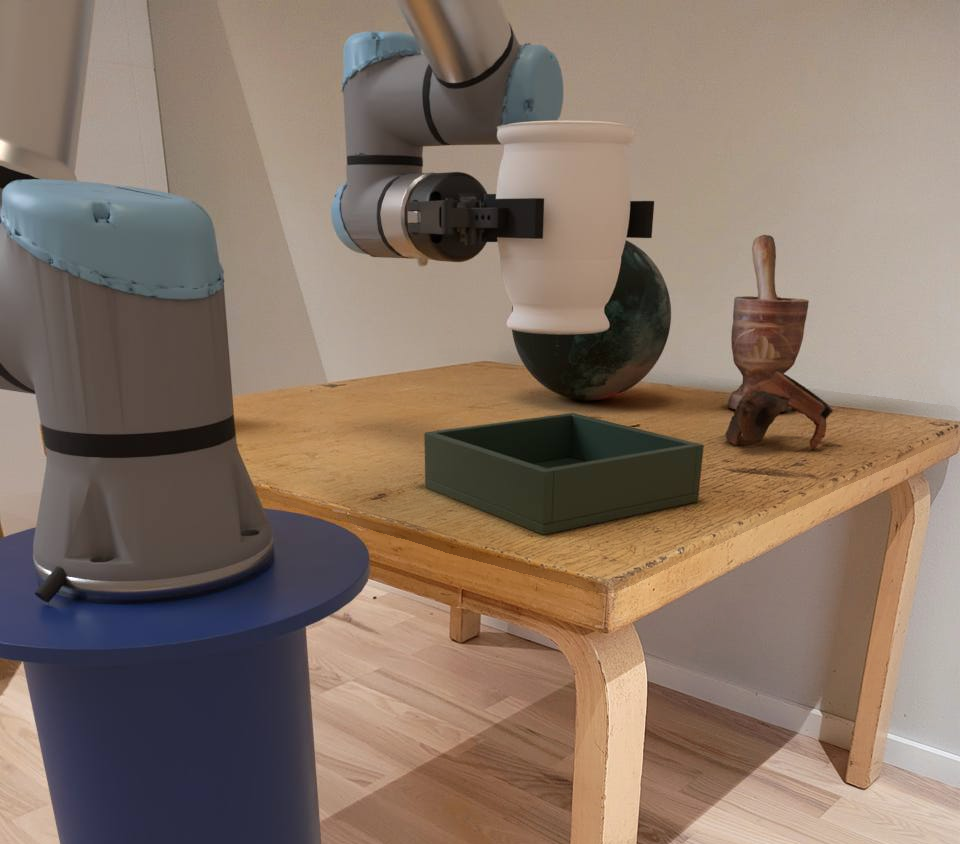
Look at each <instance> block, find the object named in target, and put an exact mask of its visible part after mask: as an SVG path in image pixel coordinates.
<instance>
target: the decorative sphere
mask: <svg viewBox="0 0 960 844" xmlns="http://www.w3.org/2000/svg"><path fill="white" fill-rule="evenodd" d="M512 312H513V305H512V306H511V313H512ZM604 313H605V315H606V317H607V319H608V321H609V324H610V326H609V328H608V329H607V330H605V331H603V332H598V333H590V334H538V333H527V332H520V331H515V330H512V329H511V333H512V338H513V343H514V347H515V349H516V352H517V354H518V357H519V359H520V360H521V362H522V364H523V366H524V367H525V368H526V370H527V372H529V374H530V375H531V376H532V377H533V378H534V379H535V380H536V381H537V382H538V383H539V384H540V385H542V386H543V387H545V388H546V389H548V390H549V391H551V392H553V393H554V394H556V395H559V396H562V397H564V398H568V399H572V400H576V401H577V400H578V401H590V402H591V401H600V400H605V399H610V398H613V397H616V396H618V395H620V394H623V393H625V392H627V391H628V390H630V389H631V388H633V387H635V386H636V385H637V384H638V383H640V382H641V381H643V379H645V377H647V375H648V374H649V373H651V371H652V369H653V368H654V367H655V365H656V364H657V363H658V361H659V359H660V357H661V356H662V354H663V352H664V350H665V347H666V345H667V341H668V339H669V334H670V329H671V322H672V304H671V297H670V293H669V288H668V287H667V283H666V281H665V279H664V277H663V274H662V273H661V271H660V269H659V268H658V266H657V264H656V263H655V261H654V260H653V259H652V258H651V257H650V256H649V255H648V254H647V253H646V252H645V251H644V250H642V249H641V248H640V247H639V246H637V245H636V244H634V243H633V242H630V241H629V240H627V239H626V241H625V245H624V249H623V253H622V256H621V265H620V270H619V275H618V279H617V282H616V285H615V288H614V290H613V293H612V295H611V297H610V299H609V301H608V303H607V304H606V305H605V307H604Z"/></svg>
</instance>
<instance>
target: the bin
mask: <svg viewBox="0 0 960 844" xmlns="http://www.w3.org/2000/svg"><path fill="white" fill-rule="evenodd" d="M423 435H424V487H425V488H427V489H429V490H432V491H434V492H437V493H439V494H442V495H444V496H446V497H449V498H451V499H454V500H456V501H458V502H461V503H463V504H466V505H468V506H471V507H473V508H476V509H478V510H480V511H483V512H486V513H488V514H491V515H493V516H496V517H498V518H501V519H503V520H506V521H508V522H511V523H513V524H516V525H518V526H521V527H523V528H525V529H527V530H531V531H533V532H535V533H538V534H541V535H543V536H544V535H550V534H554V533H558V532H563V531H568V530H572V529H573V530H574V529H577V528H581V527H586V526H590V525H595V524H600V523H605V522H609V521H614V520H619V519H623V518H628V517H632V516H638V515H642V514H646V513H651V512H656V511H660V510H665V509H669V508H675V507H680V506H684V505H688V504H692V503H698V502H699V496H700V493H699V492H700V486H701V476H702V466H703V458H704V457H703V456H704V448H705V447H704V446H705V445H704V444H703V443H698V442H694V441H690V440H685V439H681V438H678V437H673V436H669V435H666V434H661V433H657V432H653V431H648V430H645V429H641V428H636V427H632V426H628V425H624V424H620V423H616V422H612V421H608V420H603V419H600V418H596V417H595V418H594V417H591V416H588V415H583V414H579V413H574V412H570V413H560V414H554V415H553V414H552V415H547V416H546V415H545V416H539V417H531V418H524V419H517V420H507V421H501V422H500V421H499V422H494V423H485V424H480V425H479V424H477V425H470V426H463V427H455V428H447V429H439V430H433V431H426V432H424V434H423Z"/></svg>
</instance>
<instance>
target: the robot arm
mask: <svg viewBox="0 0 960 844" xmlns="http://www.w3.org/2000/svg"><path fill="white" fill-rule="evenodd" d="M394 2H395V3H396V5H397V7H398V9H399V11H400V13H401V14H402V17H403V18H404V20H405V21H406V24H407V26H408V27H409V30H410V31H411V34H410V33H407V32H406V33H405V32H400V31H389V30H383V31H369V30H368V31H361V32H357V33H354V34H352V35H350V36H349V37H348V38H347V39H346V40H345V42H344V44H343V49H342V50H343V52H342V53H343V54H342V55H343V60H342V61H343V65H342V66H343V68H342V69H343V72H342V73H343V74H342V75H343V78H342V79H343V81H342V82H341V92H342V97H343V99H342V100H343V116H344V134H345V152H346V153H345V155H346V165H345V170H346V171H345V174H346V175H345V176H346V181H345V182H344V183H342V184H341V185H340V186H339V188H337V190H336V193H335V195H334V197H333V199H332V204H331V207H330V218H331V223H332V227H333V230H334V232H335V234H336V236H337V237H338V239H339V240H340V242H341V243H342V244H343V245H344V246H346V247H347V249H349V250H350V251H353V252H354V253H358V254H362V255H367V256H370V257H371V258H386V259H387V258H388V259H410V260H411V259H412V260H414V259H415V260H417V265H418V266H419V267H426V266H427V265H428V263H429V261H436V262H447V263H464V262H467V261H470V260H471V259H474V258H475V257H476V256H477V255H479V254H480V253H481V252H482V250H483V249H484V248H485V246H486V245H487V243H498V241H497V237H500V238H529V239H543V220H544V198H520V199H496V193H488V192H487V190H486V188H485V186H484V185H483V184H482V183H481V182H480V181H479V180H478V179H477V178H475V177H474V176H472V175H471V174H469V173H466V172H462V171H448V172H423V167H424V159H423V152H424V147H442V146H490V145H492V146H497V145H502V144H501V143H500V142H499V141H498V139H497V131H498V129H497V127H498V126H502V125H507V124H513V123H520V122H532V121H559V119H560V117H561V114H562V109H563V103H564V80H563V79H564V78H563V73H562V69H561V65H560V62H559V60H558V57H557V55H556V54H555V53H554V52H553V51H550V50H549V48H548V47H547V46H545V45H542V44H532V43H531V42H528V43H526V42H525V43H523V44H520V43H519V41H518V39H517V37H516V34H515V32H514V30H513V27H512V25H511V22H509V19H508V17H507V14H506V12H505V10H504V8H503V6H502V3H501V1H500V0H394ZM95 5H96V0H0V390H6V391H11V392H17V393H24V394H29V395H30V394H32V395H35V399H36V405H37V411H38V416H39V422H40V425H41V431H42V438H43V443H44V449H45V457H46V464H45V471H44V476H43V481H42V482H43V483H42V488H41V495H40V500H39V505H38V506H39V507H38V513H37V518H36V525H35V527H36V530H35V536H34V542H33V559H34V565H35V570H36V575H37V580H38V582H39V584H40V585H41V586H40V587H39V588H38V589H37V590H36V592H35V594H36V596H37V597H39V598H40V599H41V600H43V601H45V602H48V603H49V602H50V600H51V599H52V598H53V597H54V596H55V595H59V596H62V597H65V598H69V599H73V600H78V601H85V602H92V603H104V604H145V603H158V602H168V601H175V600H182V599H188V598H194V597H199V596H204V595H208V594H212V593H216V592H219V591H223V590H226V589H229V588H232V587H235V586H238V585H240V584H243V583H245V582H247V581H249V580H251V579H253V578H255V577H257V576H258V575H260V574H261V573H263V572H264V571H265V570H267V569H268V568H269V567H270V566H271V564H272V563H273V560H274V543H273V534H272V531H271V527H270V523H269V521H268V518H267V516H266V514H265V511H264V509H263V508H264V507H263V504H262V502H261V499H260V498H259V495H258V493H257V491H256V487H255V486H254V483H253V481H252V478H251V476H250V474H249V472H248V469H247V467H246V465H245V462H244V460H243V458H242V455H241V452H240V450H239V447H238V440H237V432H236V424H235V411H234V399H233V385H232V373H231V372H232V371H231V359H230V358H231V357H230V347H229V333H228V321H227V306H226V294H225V279H224V278H225V277H224V276H225V275H224V274H225V271H224V268H223V265H222V264H221V262H220V256H219V249H218V244H217V237H216V230H215V227H214V223H213V220H212V218H211V216H210V215H209V213H208V212H207V211H206V210H205V208H204V207H203V206H201V204H199V203H198V202H196V201H194V200H193V199H190V198H188V197H184V196H182V195H178V194H174V193H170V192H165V191H159V190H154V189H148V188H142V187H135V186H123V185H116V184H115V185H114V184H111V183H110V184H108V183H102V182H101V183H100V182H92V181H80V180H78V178H77V175H76V165H77V155H78V150H79V149H78V147H79V141H80V131H81V123H82V116H83V115H82V114H83V107H84V98H85V97H84V96H85V91H86V90H85V89H86V82H87V81H86V80H87V72H88V65H89V57H90V47H91V46H90V45H91V39H92V31H93V21H94V13H95ZM502 146H503V145H502ZM654 211H655V200H630V216H629V224H628V231H627V236H626V239H629V238H630V239H652V238H653V227H654V225H653V224H654Z"/></svg>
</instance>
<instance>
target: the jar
mask: <svg viewBox="0 0 960 844" xmlns="http://www.w3.org/2000/svg"><path fill="white" fill-rule="evenodd" d="M497 129H498V131H497V139H498V141H499V142H500V143H501V144H502V146H503V155H502V158H501V161H500V164H499V165H500V166H499V169H498V174H497V175H498V176H497V184H496V192H495V194H496V199H520V198H544V220H543V239H529V238H500V237H497V241H498V242H497V247H498V252H499V256H500V257H499V263H500V271H501V277H502V282H503V285H504V289H505V293H506V295H507V297H508V299H509V301H510V303H511V305H512V306H513V312H512V311H511V313H510V315H509V316H508V318H507V320H506V327H507V328H508V329H509V330H511V331H512V330H515V331H520V332H527V333H538V334H590V333H598V332H603V331H605V330H607V329H608V328H609V326H610V324H609V321H608V319H607V317H606V315H605V313H604V307H605V305H606V304H607V303H608V301H609V299H610V297H611V295H612V293H613V290H614V288H615V285H616V282H617V279H618V275H619V270H620V265H621V256H622V253H623V249H624V245H625V241H626V240H627V238H626V236H627V231H628V224H629V216H630V201H631V176H630V168H629V162H628V158H627V146H628V145H630V144H631V143H632V142H633V140H634V139H635V130H634V129H635V127H634V126H632V125H629V124H626V123H625V124H624V123H619V122H613V121H612V122H610V121H601V120H600V121H598V120H597V121H596V120H557V121H532V122H520V123H513V124H507V125H502V126H498V127H497Z"/></svg>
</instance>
